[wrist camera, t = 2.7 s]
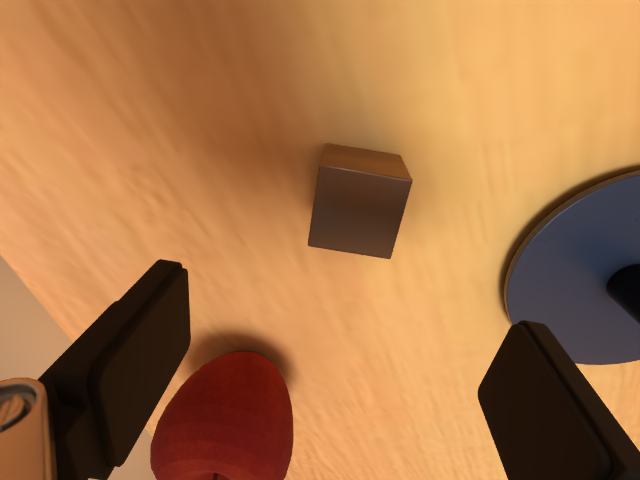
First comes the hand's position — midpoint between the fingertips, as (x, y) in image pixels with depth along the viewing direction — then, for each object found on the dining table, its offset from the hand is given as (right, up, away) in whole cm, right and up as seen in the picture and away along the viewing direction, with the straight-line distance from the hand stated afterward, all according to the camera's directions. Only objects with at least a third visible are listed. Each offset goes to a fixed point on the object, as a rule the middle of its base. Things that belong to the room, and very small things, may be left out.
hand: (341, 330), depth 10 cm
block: (+2, +6, +11) cm, 13 cm away
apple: (-7, -9, +20) cm, 23 cm away
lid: (+19, 0, +12) cm, 22 cm away
